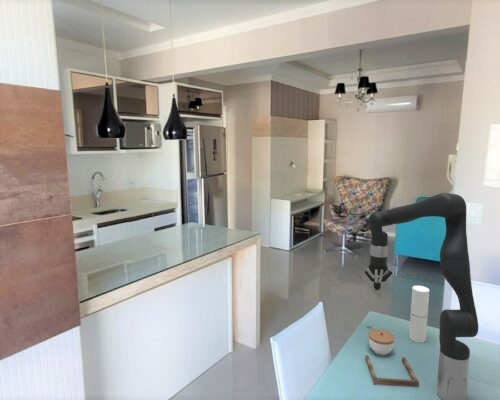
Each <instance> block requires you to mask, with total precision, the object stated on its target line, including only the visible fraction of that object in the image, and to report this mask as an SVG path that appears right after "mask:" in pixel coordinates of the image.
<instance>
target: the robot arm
mask: <svg viewBox="0 0 500 400" xmlns="http://www.w3.org/2000/svg"><path fill="white" fill-rule="evenodd" d="M427 217H440V218H443V219H444V221H445V222H444V223H445V236H444V237H443V238H444V239H443V242H442V245H441V247H440V251H439V261H440V262H439V263H440V264H439V265H440V271H441V274H442V276H443V278H444V279H445V280H446V282H447V283H448V284H449V285H450V287H451V288H452V290H453V291H454V293H455V295H456V297H457V300H458V304H459V309H443V310H441V313H440V316H439V336H438V337H439V339H438V340H439V354H438V364H437V365H438V368H437V379H436V395H437V396H438V397H439V398H440V399H441V400H467V396H468V395H467V394H468V385H469V381H468V374H469V365H470V356H471V350H470V348H469V346H468V345H467V344H465V343H464V342H462V341H460V340H458V339H457V338H475V337H476V336H477V335H478V333H479V320H478V315H477V310H476V309H477V308H476V304H475V300H474V295H473V294H474V293H473V286H472V277H471V264H470V263H471V262H470V257H469V256H470V255H469V246H468V236H467V204H466V201H465V199H464V197H463V196H461V195H459V194H456V193H448V192H441V193H439V194H435V195H432V196H431V197H428V198H426V199H423V200H420V201H417V202H414V203H411V204H407V205H406V204H405V205H401V206H396V207H393V208H390V209H386V210H380V211H374V212H372V213H371V214H370V215H369V216H368V228H369V231H370V235H371V239H370V248H369V265H368V266H367V268H366V269H365V268H364V269H363V272H364V274H365V275H366V276H367V278H368V279H369V280H370V281H371V282H372V283H373V289H374V290H375V291H380V290H381V288H382V287H381V286H382V283H383V282H384V283H385V282H386V281H387V280H388V279H389V278H390V277H391V276H392V275H393V271H392V270H391V269H389V267H388V256H389V255H388V251H389V250H388V242H389V240H388V239H389V237H388V233H387V232H385V231H383V227H388V226H391V225H392V226H393V225H400V224H404V223H409V222H410V223H411V222H413V221H415V220H418V219H420V218H427ZM370 274H372V275H370ZM372 276H373V277H372Z"/></svg>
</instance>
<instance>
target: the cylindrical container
mask: <svg viewBox="0 0 500 400" xmlns="http://www.w3.org/2000/svg"><path fill="white" fill-rule="evenodd" d="M429 299H430V289H429V288H428V287H426V286H424V285H413V286H412V287H411V304H410V316H409V317H410V318H409V333H408V337H409V339H410V340H411V341H412V342H415V343H420V344H421V343H425V342H426V340H427V327H428V316H429V315H428V313H429V302H430V301H429Z"/></svg>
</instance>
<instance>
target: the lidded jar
mask: <svg viewBox="0 0 500 400" xmlns="http://www.w3.org/2000/svg"><path fill="white" fill-rule="evenodd" d="M395 339H396V338H395V336H394V334H393V333H392V332H390V331H388V330H386V329H379V328H375V329H371V330H370V331H369V332H368V343H369V346H370V348H371V350H372V351H373V352H374V353H375V354H376V355H378V354H379V355H378V356H388V354H390V353H391V352H392V351H393V348H394V345H395Z"/></svg>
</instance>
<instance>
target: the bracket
mask: <svg viewBox="0 0 500 400" xmlns="http://www.w3.org/2000/svg"><path fill="white" fill-rule="evenodd" d="M364 360H365V363H366V362H367V363H366V365H368V366H367V367H368V371H369V373H371V374H370V376H371V378H373V379H372V381H374V382H373V384H374V385H377V384H380V386H381V385H382V386H396V387H397V386H399V387H415V388H419V387H420V381H419V379H418V378H417V376H416V374H415V372H414V371H413V368H412V367H411V365H410V364H409V362H408V360H407V358H406V356H401V362H402V364H403V366H404V368H405V370H406V372H407V374H408V376H409V378H410V379H407V378H404V379H403V378H387V377H386V378H385V377H378V376H377V374H376V372H375V369H374V366H373V364H372V361H371V358H370V356H369V354H364Z"/></svg>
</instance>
